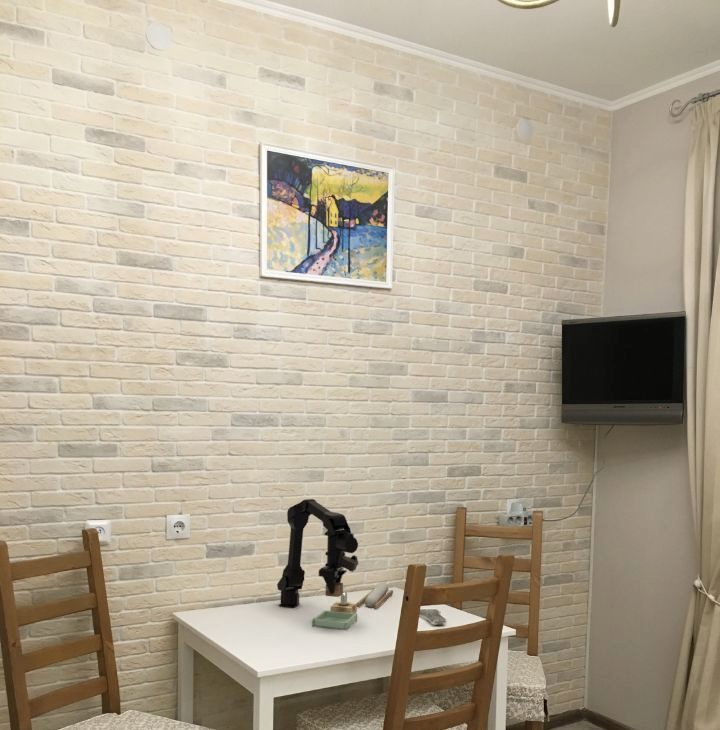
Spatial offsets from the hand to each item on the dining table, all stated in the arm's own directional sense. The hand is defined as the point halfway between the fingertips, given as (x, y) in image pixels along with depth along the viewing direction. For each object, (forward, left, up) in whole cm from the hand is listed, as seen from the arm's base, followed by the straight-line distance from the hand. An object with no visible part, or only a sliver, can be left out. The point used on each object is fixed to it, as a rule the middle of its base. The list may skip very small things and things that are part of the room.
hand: (334, 592), depth 287 cm
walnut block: (0, 0, -1) cm, 1 cm away
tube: (+6, +39, -12) cm, 41 cm away
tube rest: (+5, +38, -11) cm, 40 cm away
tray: (0, 0, -11) cm, 11 cm away
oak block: (-1, +14, -11) cm, 18 cm away
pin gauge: (-1, +14, -11) cm, 18 cm away
